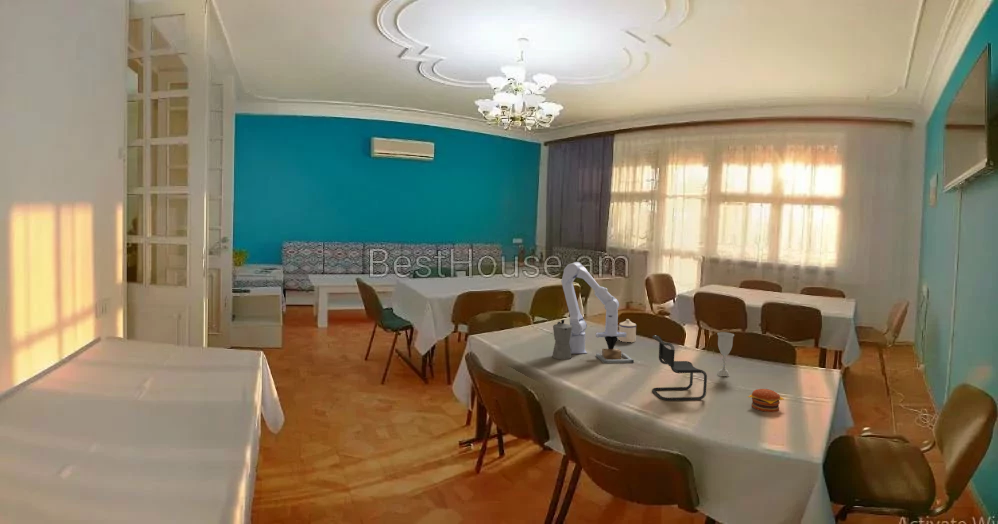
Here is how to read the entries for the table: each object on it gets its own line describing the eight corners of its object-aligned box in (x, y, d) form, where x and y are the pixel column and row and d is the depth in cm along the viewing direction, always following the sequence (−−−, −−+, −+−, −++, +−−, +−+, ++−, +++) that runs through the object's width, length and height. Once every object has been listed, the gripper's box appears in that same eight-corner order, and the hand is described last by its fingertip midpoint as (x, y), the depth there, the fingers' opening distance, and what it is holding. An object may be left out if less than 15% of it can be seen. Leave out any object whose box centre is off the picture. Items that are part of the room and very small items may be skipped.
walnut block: (604, 359, 268) (604, 351, 268) (601, 356, 273) (602, 348, 273) (620, 359, 268) (621, 351, 268) (618, 357, 273) (618, 348, 273)
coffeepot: (575, 360, 265) (576, 322, 264) (555, 361, 264) (556, 322, 262) (566, 352, 281) (567, 316, 279) (548, 352, 279) (548, 316, 278)
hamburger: (759, 401, 213) (760, 384, 212) (784, 409, 205) (786, 391, 205) (745, 406, 207) (746, 388, 207) (770, 414, 200) (772, 396, 199)
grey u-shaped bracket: (604, 363, 262) (604, 360, 262) (596, 356, 274) (596, 353, 274) (633, 362, 263) (633, 360, 263) (624, 355, 276) (624, 353, 276)
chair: (648, 389, 225) (651, 334, 222) (691, 389, 226) (694, 334, 224) (661, 401, 212) (664, 343, 210) (706, 400, 213) (709, 342, 211)
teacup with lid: (639, 341, 305) (640, 319, 304) (628, 343, 300) (629, 321, 298) (621, 337, 315) (622, 316, 313) (610, 339, 309) (611, 318, 308)
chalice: (733, 378, 241) (735, 336, 239) (716, 377, 243) (718, 335, 241) (730, 373, 248) (732, 332, 247) (713, 372, 250) (715, 331, 248)
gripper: (623, 322, 278) (622, 349, 279) (594, 322, 277) (593, 349, 278) (628, 325, 271) (627, 353, 272) (598, 325, 270) (597, 353, 271)
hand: (610, 351), depth 275 cm, fingers closed
